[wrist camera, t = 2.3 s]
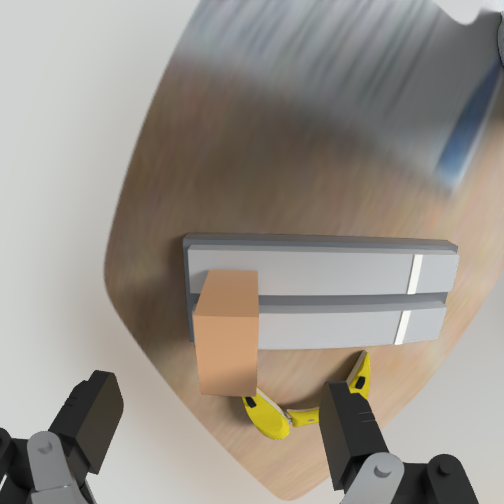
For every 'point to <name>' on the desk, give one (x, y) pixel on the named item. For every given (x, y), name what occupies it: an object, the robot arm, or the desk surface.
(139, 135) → the desk surface
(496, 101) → the desk surface
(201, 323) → the cap
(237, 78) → the desk surface
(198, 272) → the fader track
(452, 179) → the desk surface
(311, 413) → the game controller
